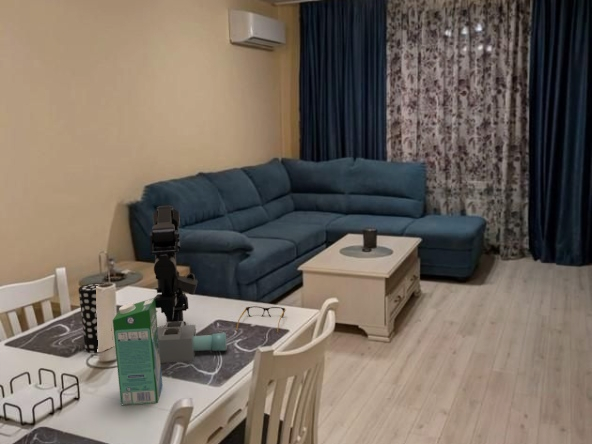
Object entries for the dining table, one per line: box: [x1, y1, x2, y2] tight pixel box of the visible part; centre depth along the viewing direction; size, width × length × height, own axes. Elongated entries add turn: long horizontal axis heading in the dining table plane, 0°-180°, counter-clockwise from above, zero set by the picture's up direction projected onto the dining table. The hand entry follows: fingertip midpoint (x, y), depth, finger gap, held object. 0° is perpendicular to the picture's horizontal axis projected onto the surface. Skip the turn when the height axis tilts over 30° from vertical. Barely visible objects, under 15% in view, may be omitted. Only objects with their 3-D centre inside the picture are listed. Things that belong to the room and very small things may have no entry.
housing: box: [157, 320, 197, 364], centre depth 171 cm, size 11×12×8 cm
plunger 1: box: [169, 321, 180, 327], centre depth 173 cm, size 3×3×2 cm
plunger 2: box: [166, 328, 177, 335], centre depth 167 cm, size 3×3×2 cm
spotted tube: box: [77, 282, 105, 354], centre depth 177 cm, size 8×8×20 cm
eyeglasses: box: [236, 305, 286, 333], centre depth 195 cm, size 14×14×4 cm
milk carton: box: [112, 297, 163, 406], centre depth 145 cm, size 9×9×25 cm
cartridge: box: [193, 332, 227, 352], centre depth 172 cm, size 20×5×5 cm, turn 94°
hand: (170, 320), depth 167 cm, fingers closed
